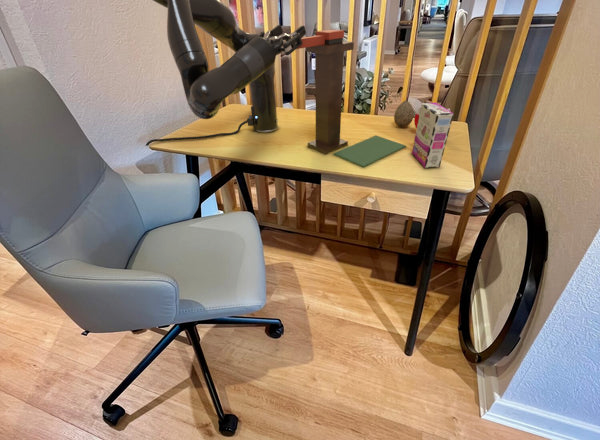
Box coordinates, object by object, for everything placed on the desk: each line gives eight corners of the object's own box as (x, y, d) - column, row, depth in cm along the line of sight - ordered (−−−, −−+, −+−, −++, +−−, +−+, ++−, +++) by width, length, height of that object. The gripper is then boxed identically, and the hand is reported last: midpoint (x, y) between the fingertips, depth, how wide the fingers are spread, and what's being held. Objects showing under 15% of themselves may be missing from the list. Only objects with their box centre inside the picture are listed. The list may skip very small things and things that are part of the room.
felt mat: (363, 167, 95) (363, 165, 95) (333, 154, 104) (333, 153, 103) (405, 147, 106) (406, 145, 106) (375, 136, 115) (375, 135, 114)
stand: (325, 154, 104) (326, 46, 85) (307, 146, 109) (305, 43, 90) (347, 145, 109) (353, 41, 90) (329, 138, 115) (332, 39, 96)
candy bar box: (440, 167, 93) (455, 113, 84) (424, 169, 93) (437, 114, 83) (425, 152, 102) (436, 101, 93) (410, 153, 102) (420, 102, 92)
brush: (299, 50, 82) (298, 36, 80) (286, 48, 85) (285, 35, 83) (343, 42, 90) (344, 30, 88) (330, 41, 94) (330, 29, 92)
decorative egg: (389, 127, 121) (393, 101, 115) (397, 122, 126) (400, 97, 120) (407, 131, 118) (412, 104, 112) (414, 125, 122) (419, 99, 116)
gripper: (267, 47, 70) (309, 13, 76) (228, 44, 78) (269, 13, 84) (277, 78, 76) (316, 44, 82) (240, 72, 84) (278, 42, 90)
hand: (292, 28), depth 83 cm, fingers open, 8 cm apart
